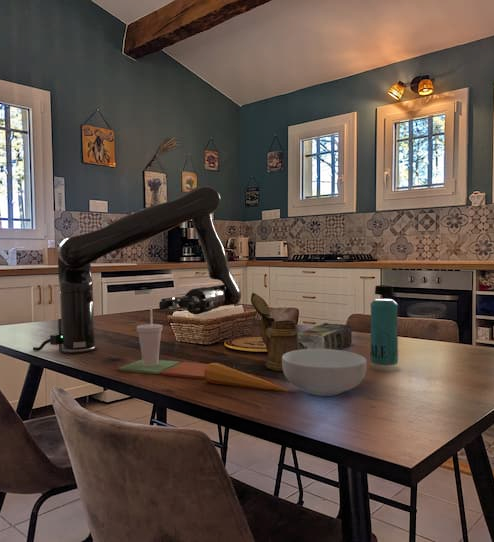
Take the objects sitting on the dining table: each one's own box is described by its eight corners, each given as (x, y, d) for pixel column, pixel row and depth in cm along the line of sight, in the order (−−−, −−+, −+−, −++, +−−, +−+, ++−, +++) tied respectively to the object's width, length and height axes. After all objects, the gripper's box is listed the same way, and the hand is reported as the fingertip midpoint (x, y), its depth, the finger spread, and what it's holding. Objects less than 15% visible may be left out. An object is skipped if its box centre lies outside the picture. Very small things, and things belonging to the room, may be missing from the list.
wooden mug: (261, 359, 133) (260, 290, 132) (309, 365, 126) (308, 292, 125) (243, 366, 126) (242, 293, 125) (292, 373, 118) (291, 296, 117)
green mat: (118, 370, 124) (118, 367, 124) (143, 360, 134) (143, 358, 134) (157, 374, 119) (156, 371, 119) (180, 363, 129) (180, 361, 129)
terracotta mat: (160, 374, 119) (160, 372, 119) (183, 364, 129) (183, 361, 129) (202, 379, 114) (202, 376, 114) (223, 367, 124) (223, 365, 124)
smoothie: (158, 368, 123) (157, 310, 122) (133, 367, 124) (131, 310, 123) (166, 361, 129) (165, 307, 128) (143, 361, 130) (141, 306, 130)
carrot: (202, 385, 112) (199, 368, 110) (213, 373, 115) (210, 356, 113) (286, 406, 102) (285, 389, 100) (295, 393, 106) (293, 375, 104)
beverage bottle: (398, 366, 123) (398, 284, 122) (398, 373, 117) (398, 286, 116) (370, 364, 125) (370, 283, 124) (368, 371, 119) (368, 286, 118)
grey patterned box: (324, 357, 134) (323, 333, 134) (291, 353, 140) (290, 331, 139) (353, 345, 150) (353, 324, 150) (323, 342, 156) (322, 322, 156)
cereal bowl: (310, 408, 93) (309, 370, 92) (267, 385, 108) (267, 353, 108) (384, 396, 100) (384, 360, 99) (334, 376, 115) (334, 345, 114)
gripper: (180, 287, 155) (151, 291, 140) (223, 288, 149) (197, 293, 134) (181, 311, 155) (152, 318, 140) (223, 313, 150) (197, 321, 135)
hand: (174, 306), depth 137 cm, fingers open, 8 cm apart
